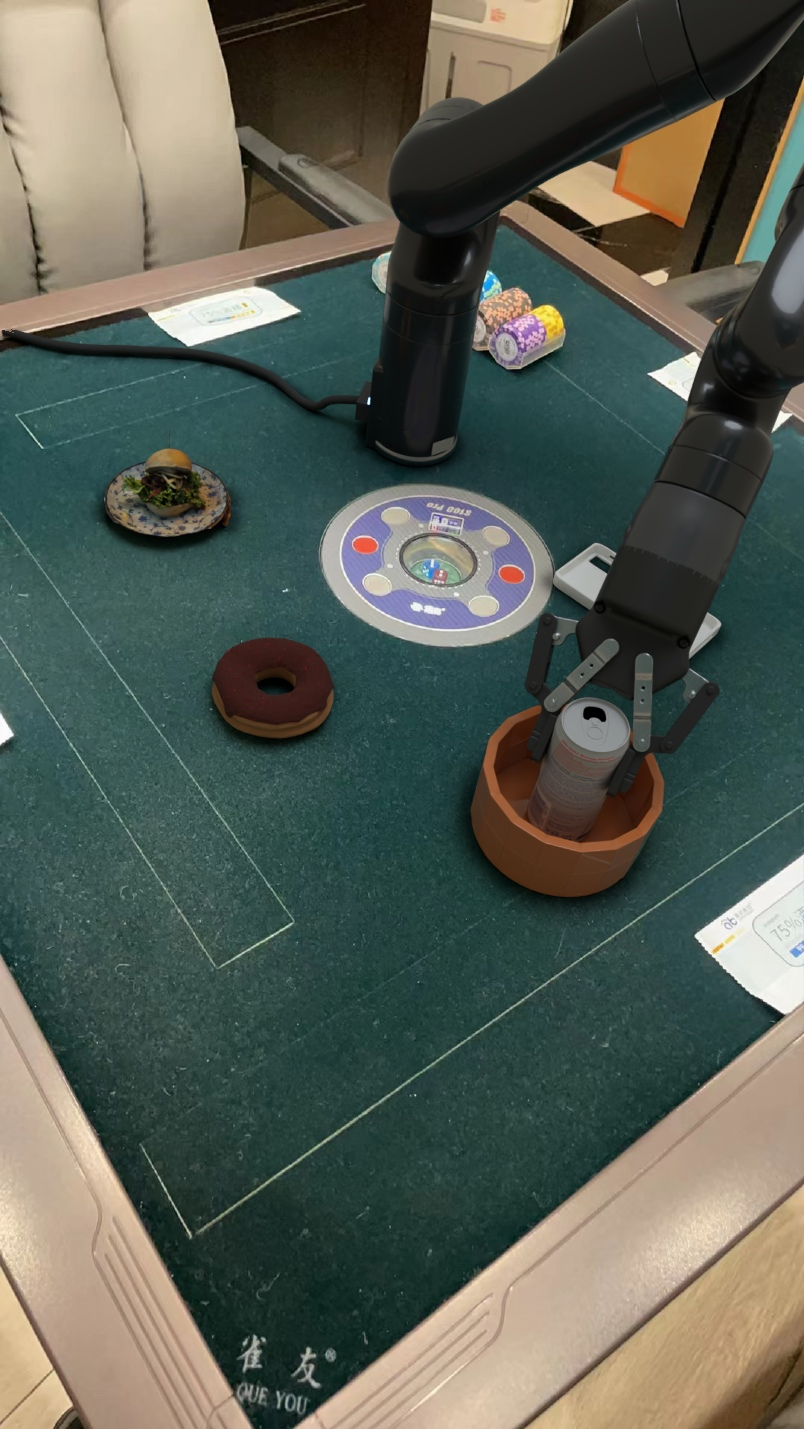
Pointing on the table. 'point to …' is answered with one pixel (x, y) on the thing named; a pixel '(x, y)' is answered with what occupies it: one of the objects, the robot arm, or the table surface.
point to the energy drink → (578, 768)
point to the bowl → (549, 857)
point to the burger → (167, 496)
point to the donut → (272, 712)
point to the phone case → (588, 579)
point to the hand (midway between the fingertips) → (572, 777)
